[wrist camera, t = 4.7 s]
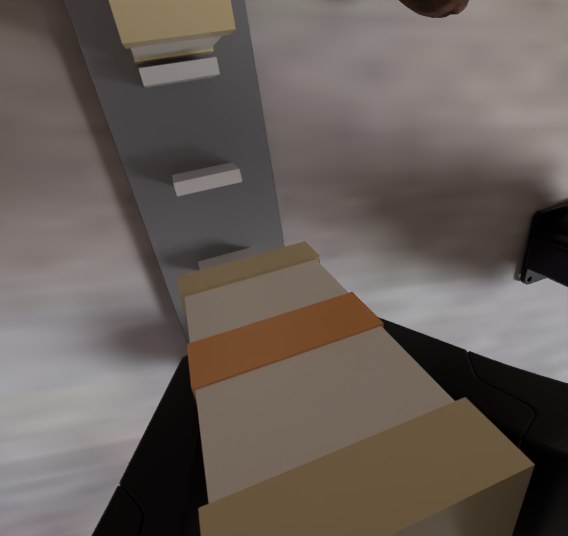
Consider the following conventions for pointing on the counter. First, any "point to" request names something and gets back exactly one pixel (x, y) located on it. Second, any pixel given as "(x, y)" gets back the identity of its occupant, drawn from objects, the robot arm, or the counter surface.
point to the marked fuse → (331, 415)
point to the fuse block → (185, 126)
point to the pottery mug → (436, 7)
